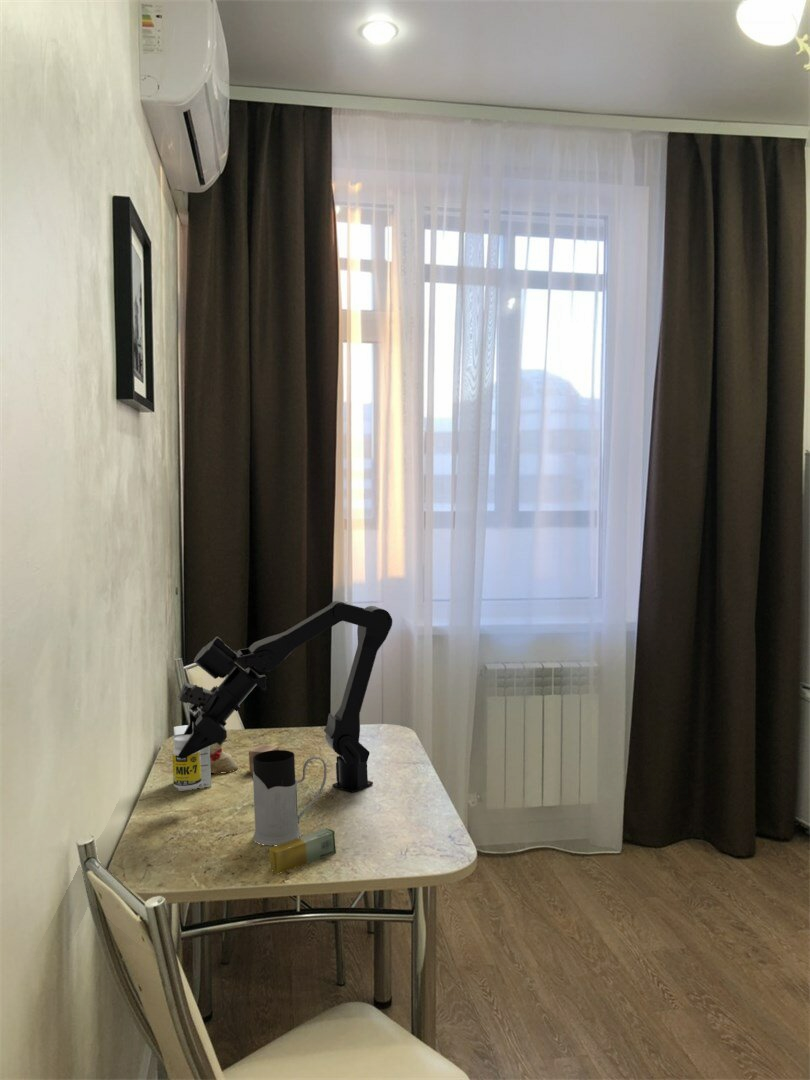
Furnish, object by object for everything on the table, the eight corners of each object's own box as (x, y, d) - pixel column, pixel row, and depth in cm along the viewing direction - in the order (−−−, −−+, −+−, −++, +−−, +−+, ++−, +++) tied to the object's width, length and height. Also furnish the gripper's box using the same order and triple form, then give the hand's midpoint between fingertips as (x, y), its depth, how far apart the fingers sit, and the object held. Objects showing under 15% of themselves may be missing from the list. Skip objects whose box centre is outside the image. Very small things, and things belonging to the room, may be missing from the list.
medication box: (328, 849, 145) (327, 827, 145) (337, 853, 143) (335, 831, 142) (269, 870, 137) (267, 847, 137) (277, 875, 135) (276, 851, 135)
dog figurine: (211, 766, 194) (209, 724, 193) (240, 768, 191) (238, 726, 191) (198, 773, 189) (196, 730, 188) (227, 776, 186) (225, 732, 186)
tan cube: (279, 767, 191) (278, 746, 191) (268, 774, 187) (267, 752, 186) (261, 765, 193) (260, 744, 193) (249, 772, 188) (248, 751, 188)
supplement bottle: (173, 791, 162) (171, 742, 161) (173, 782, 167) (171, 735, 166) (202, 787, 163) (199, 739, 163) (201, 778, 168) (199, 732, 168)
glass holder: (249, 831, 153) (245, 752, 153) (322, 819, 158) (319, 742, 158) (257, 849, 145) (254, 766, 144) (334, 835, 150) (331, 755, 149)
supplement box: (175, 781, 184) (173, 726, 183) (209, 777, 186) (206, 722, 185) (176, 792, 177) (174, 734, 176) (211, 787, 179) (209, 730, 178)
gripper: (197, 660, 174) (146, 718, 171) (205, 676, 156) (149, 741, 153) (236, 692, 177) (187, 750, 174) (249, 712, 159) (194, 776, 156)
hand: (179, 753), depth 164 cm, fingers closed on supplement bottle, 5 cm apart
